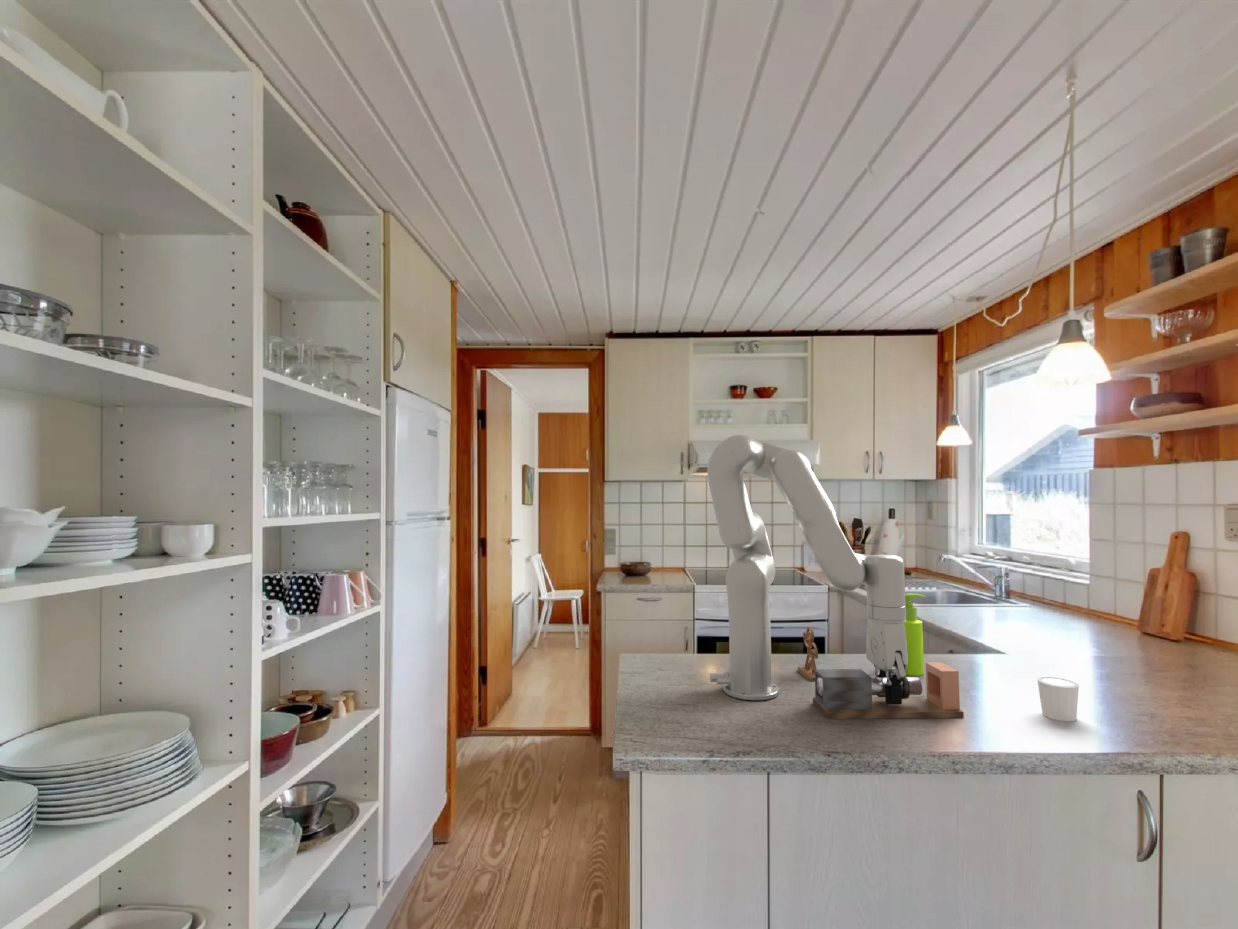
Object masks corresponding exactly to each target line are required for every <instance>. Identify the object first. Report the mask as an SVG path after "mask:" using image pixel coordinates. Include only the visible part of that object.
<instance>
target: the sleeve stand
mask: <svg viewBox="0 0 1238 929" xmlns="http://www.w3.org/2000/svg"><path fill="white" fill-rule="evenodd" d="M871 677H872V676H870V675H869V674H868V673H867V672H865V671H864V670H862V669H861V668H837V669H835V668H832V669H831V668H830V669H829V668H822V669H817V668H816V669H815V681H814V696H813V697H812V703H813V705H814V706H815V707H816V708H817V709H818V710H819V712H820V713H822V715H823V716H824V717H825V718H826V719H827V720H829V719H831V720H832V719H834V720H835V719H839V720H840V719H948V718H949V719H955V718H957V719H959V718H964V717H965V715H964V711H963V710H962V709H961V708H960V709H942V708H940V707H939V706H937V705H935V704H934V703H932V702H931V701H929V700H928V699H927V696H909V698H908V699H902V704H887V703H886V702H885V697H878V696H873V695H872V679H871ZM817 678H822V679H823V696H820V695H819V693H818V690H817Z"/></svg>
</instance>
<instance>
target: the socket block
mask: <svg viewBox="0 0 1238 929" xmlns="http://www.w3.org/2000/svg"><path fill="white" fill-rule="evenodd" d="M959 678H960V677H959V670H957V669H955V668H953V667H952V666H950V665H948V664H946V663H944V662H940V661H939V662H938V661H937V662H936V661H935V662H933V661H932V662H931V661H930V662H929V661H927V662H925V680H926V681H925V682H926V686H925V687H926V697H927V699H928V700H929V701H931V702H932V703H934V704H935V705H937V706H939V707H940V708H942V709H960V710H961V707H960V704H961V701H960V680H959Z"/></svg>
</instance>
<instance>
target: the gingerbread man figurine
mask: <svg viewBox="0 0 1238 929" xmlns="http://www.w3.org/2000/svg"><path fill="white" fill-rule="evenodd" d="M802 635H803V636H802V637H803V638H802V639H803V643H804V646H805V647H806V659H805V663H804V666H797V672H798V673H800V675H802V676H803V677H804V678H806V679H807V680H808V681H809V682H815V669H817V665H816V661H815V659H819V650H818V647H817V644H816V643H815V642H814V641H815V633H814V629H813V627H807V628H806V631H804V632H803V633H802ZM810 658H811V659H810Z"/></svg>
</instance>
